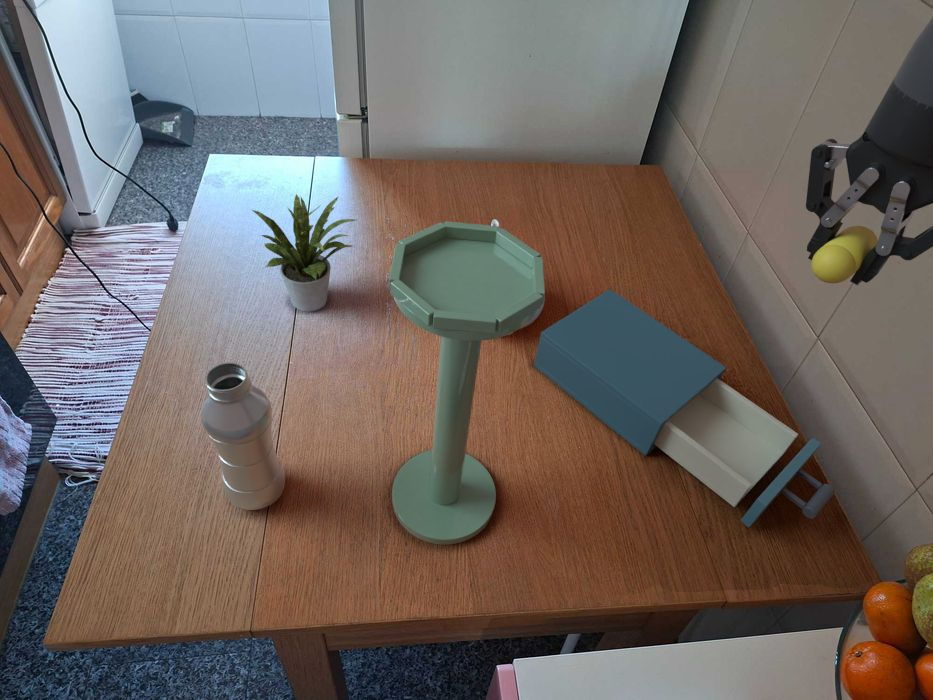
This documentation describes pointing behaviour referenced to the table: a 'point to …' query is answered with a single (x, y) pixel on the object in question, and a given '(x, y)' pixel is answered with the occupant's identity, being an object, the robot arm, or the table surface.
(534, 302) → the cake stand
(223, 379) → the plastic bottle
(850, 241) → the yellow rounded capsule
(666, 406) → the cabinet
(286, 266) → the house plant
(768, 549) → the table surface
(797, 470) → the drawer
